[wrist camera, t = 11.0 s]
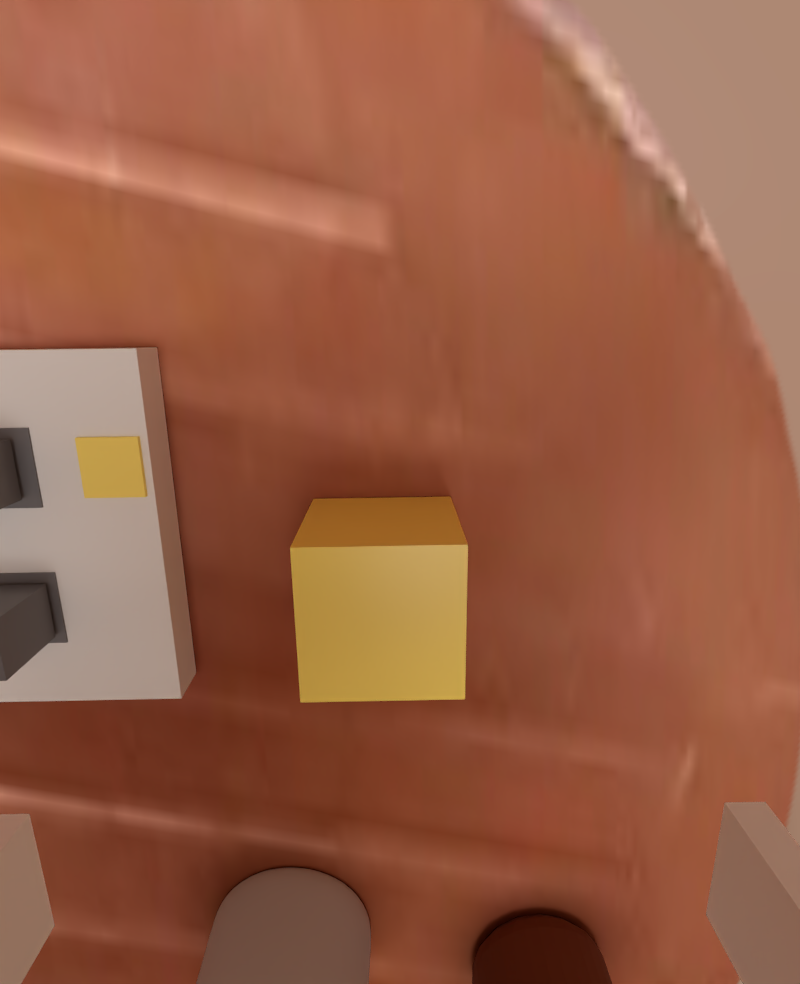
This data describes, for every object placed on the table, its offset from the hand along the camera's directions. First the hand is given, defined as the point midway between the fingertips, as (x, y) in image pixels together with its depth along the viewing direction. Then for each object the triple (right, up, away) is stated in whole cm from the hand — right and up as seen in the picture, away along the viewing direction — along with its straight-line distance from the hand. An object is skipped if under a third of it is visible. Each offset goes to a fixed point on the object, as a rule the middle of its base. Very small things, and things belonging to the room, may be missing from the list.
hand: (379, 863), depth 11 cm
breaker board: (-16, +6, +14) cm, 22 cm away
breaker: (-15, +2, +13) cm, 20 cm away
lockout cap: (0, +4, +15) cm, 16 cm away
